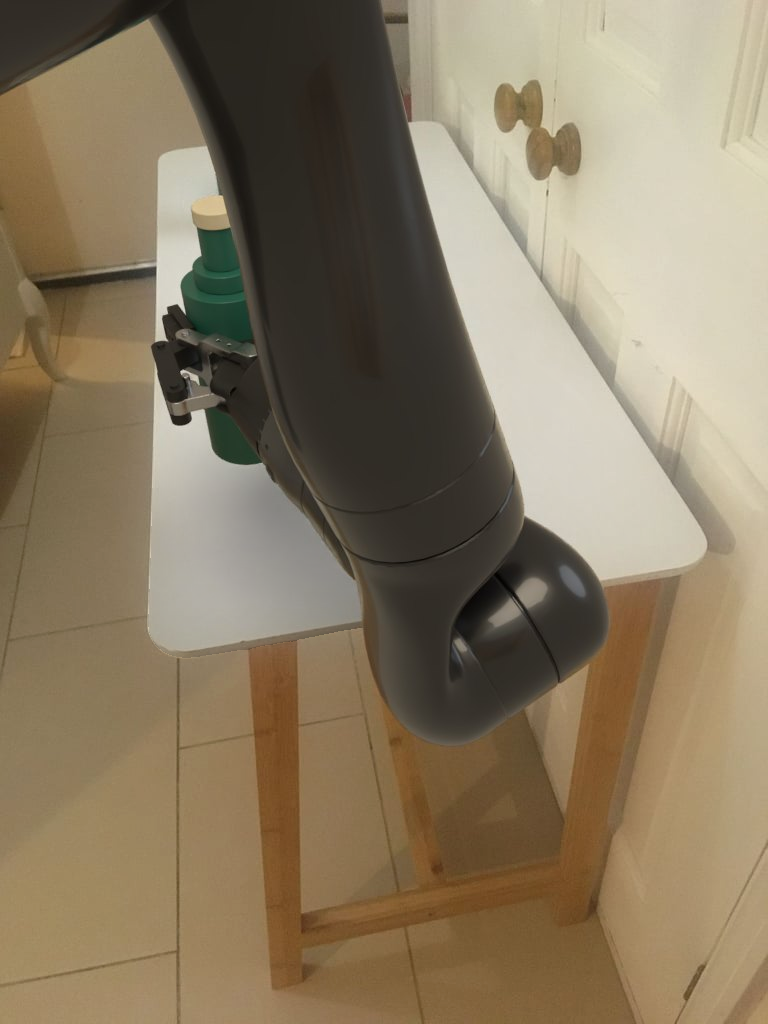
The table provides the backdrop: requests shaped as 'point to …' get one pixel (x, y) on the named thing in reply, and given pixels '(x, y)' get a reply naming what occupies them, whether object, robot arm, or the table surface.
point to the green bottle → (218, 311)
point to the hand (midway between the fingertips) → (219, 305)
